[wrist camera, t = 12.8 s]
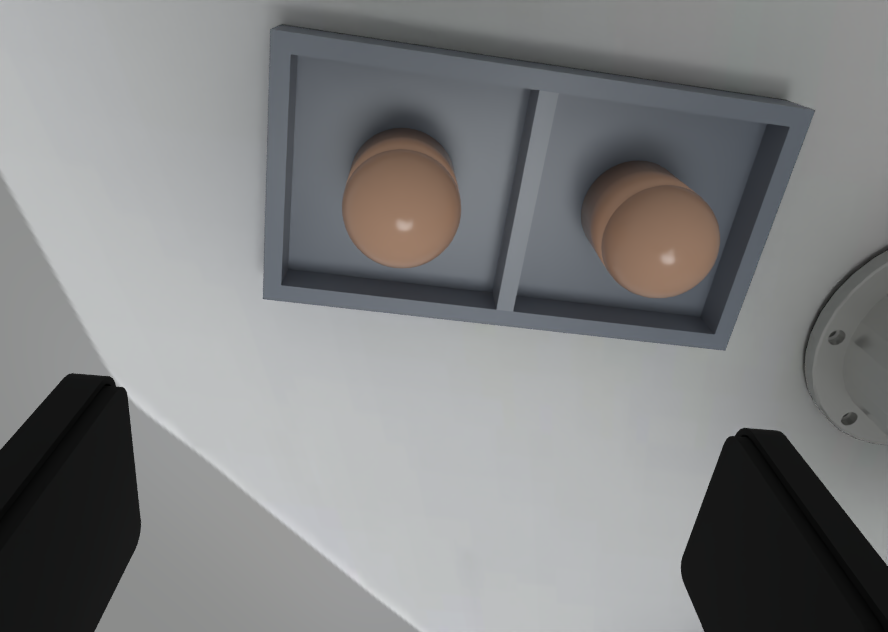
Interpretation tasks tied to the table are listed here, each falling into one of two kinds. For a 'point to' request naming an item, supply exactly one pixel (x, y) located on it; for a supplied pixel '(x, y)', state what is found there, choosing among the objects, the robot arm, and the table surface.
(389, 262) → the egg
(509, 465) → the table surface
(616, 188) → the seated egg
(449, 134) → the divided grey tray
